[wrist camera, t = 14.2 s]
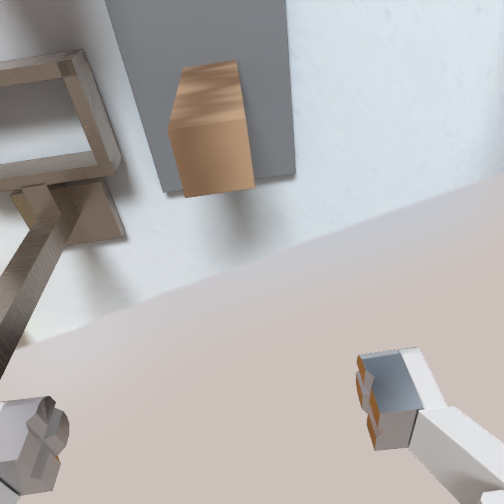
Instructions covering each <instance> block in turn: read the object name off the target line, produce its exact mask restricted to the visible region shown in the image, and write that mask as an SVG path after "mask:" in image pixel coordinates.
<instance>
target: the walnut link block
mask: <svg viewBox="0 0 504 504" xmlns="http://www.w3.org/2000/svg"><path fill="white" fill-rule="evenodd" d="M167 131H168V135H169V139H170V142H171V146H172V150H173V154H174V157H175V161H176V165H177V169H178V172H179V176H180V180H181V184H182V187H183V191H184V195H185V198H189V197H196V196H203V195H209V194H216V193H223V192H230V191H237V190H244V189H251V188H255V183H254V175H253V168H252V161H251V153H250V146H249V138H248V131H247V124H246V117H245V111H244V104H243V98H242V92H241V86H240V80H239V74H238V67H237V61H236V60H232V61H226V62H219V63H213V64H206V65H200V66H193V67H186V68H183V69H182V73H181V77H180V81H179V85H178V89H177V93H176V97H175V101H174V105H173V109H172V113H171V117H170V121H169V125H168V129H167Z"/></svg>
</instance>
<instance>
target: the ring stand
mask: <svg viewBox="0 0 504 504" xmlns="http://www.w3.org/2000/svg"><path fill="white" fill-rule="evenodd" d="M57 78H63V80H64V82H65V85H66V87H67V90H68V92H69V95H70V97H71V100H72V102H73V105H74V107H75V110H76V112H77V115H78V117H79V120H80V122H81V125H82V127H83V130H84V132H85V135H86V137H87V140H88V142H89V144H90V147H91V149H92V151H86V152H80V153H73V154H66V155H59V156H53V157H46V158H39V159H33V160H26V161H19V162H12V163H6V164H0V192H1V191H8V190H14V191H13V192H12V193H11V195H10V197H11V198H12V200H13V202H14V204H15V205H16V207H17V209H18V210H19V212H20V214H21V215H22V217H23V219H24V221H25V222H26V224H27V226H28V227H29V229H30V231H29V232H28V234H27V235H26V237H25V239H24V240H23V242H22V243H21V245H20V247H19V248H18V250H17V251H16V253H15V254H14V256H13V258H12V259H11V261H10V262H9V264H8V266H7V267H6V269H5V270H4V272H3V273H2V275H1V277H0V379H1V377H2V375H3V373H4V371H5V369H6V367H7V365H8V363H9V361H10V358H11V356H12V354H13V352H14V350H15V348H16V346H17V344H18V342H19V340H20V338H21V336H22V334H23V332H24V330H25V328H26V326H27V323H28V321H29V319H30V317H31V315H32V313H33V311H34V309H35V307H36V305H37V303H38V301H39V299H40V297H41V295H42V293H43V290H44V288H45V286H46V284H47V282H48V280H49V278H50V276H51V274H52V272H53V270H54V268H55V266H56V264H57V262H58V260H59V258H60V255H61V253H62V251H63V249H64V247H65V246H66V245H73V244H80V243H86V242H93V241H100V240H107V239H114V238H121V237H123V235H124V231H125V229H124V227H123V224H122V222H121V219H120V217H119V214H118V212H117V209H116V207H115V204H114V202H113V199H112V197H111V194H110V192H109V189H108V187H107V184H106V182H105V179H104V177H103V176H109V175H115V173H116V171H117V169H118V166H119V164H120V162H121V159H122V156H121V154H120V151H119V148H118V145H117V142H116V140H115V137H114V134H113V131H112V128H111V126H110V123H109V120H108V117H107V114H106V111H105V109H104V106H103V103H102V100H101V97H100V95H99V92H98V89H97V86H96V83H95V81H94V78H93V75H92V72H91V69H90V67H89V64H88V61H87V58H86V55H85V53H84V50H83V49H80V50H73V51H67V52H60V53H54V54H47V55H41V56H34V57H28V58H21V59H15V60H9V61H2V62H0V87H5V86H11V85H18V84H24V83H31V82H37V81H44V80H50V79H57Z"/></svg>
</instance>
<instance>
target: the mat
mask: <svg viewBox="0 0 504 504" xmlns="http://www.w3.org/2000/svg"><path fill="white" fill-rule="evenodd" d="M105 3H106V6H107V9H108V13H109V16H110V19H111V23H112V26H113V29H114V32H115V36H116V39H117V42H118V46H119V49H120V52H121V55H122V59H123V62H124V65H125V69H126V72H127V75H128V78H129V82H130V85H131V88H132V92H133V95H134V98H135V101H136V105H137V108H138V111H139V115H140V118H141V121H142V124H143V128H144V131H145V134H146V138H147V141H148V144H149V148H150V151H151V154H152V157H153V161H154V164H155V167H156V171H157V174H158V177H159V180H160V184H161V187H162V190H163V193H165V192H172V191H178V190H183V187H182V184H181V180H180V176H179V172H178V169H177V165H176V161H175V157H174V154H173V150H172V146H171V142H170V139H169V135H168V131H167V129H168V125H169V121H170V117H171V113H172V109H173V105H174V101H175V97H176V93H177V89H178V85H179V81H180V77H181V73H182V69H183V68H186V67H193V66H200V65H206V64H213V63H219V62H226V61H232V60H236V61H237V67H238V74H239V80H240V86H241V92H242V98H243V104H244V111H245V117H246V124H247V131H248V138H249V146H250V153H251V161H252V168H253V175H254V179H261V178H267V177H274V176H281V175H288V174H295V173H296V168H295V151H294V135H293V119H292V102H291V86H290V70H289V53H288V37H287V21H286V4H285V0H105Z"/></svg>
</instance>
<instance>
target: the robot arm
mask: <svg viewBox="0 0 504 504" xmlns="http://www.w3.org/2000/svg"><path fill="white" fill-rule="evenodd" d="M357 365H358V368H359V371H358V372H357V373H356V385H357V392H358V397H359V401H360V404H361V408H362V409H363V410H364V411H365V412H366V413H368V417H367V427H368V431H369V434H370V437H371V440H372V444H373V447H374V450H375V451H376V450H387V449H398V448H408V447H409V450H410V451H411V452H412V453H413V455H414V456H415V457H416V458H417V459H418V460H419V461H420V462H421V463H422V464H423V465H424V466H425V467H426V468H427V469H428V470H429V471H430V472H431V473H432V474H433V475H434V476H435V477H436V479H437V480H438V481H439V482H440V483H441V484H442V485H443V486H444V487H445V488H446V489H447V490H448V491H449V492H450V493H451V494H452V495H453V496H454V497H455V498H456V499H457V500H458V502H460V504H504V444H503V443H502V442H501V441H500V440H498V439H497V438H496V437H494V436H493V435H492V434H491V433H489V432H488V431H487V430H485V429H484V428H482V427H481V426H480V425H479V424H477V423H476V422H475V421H474V420H472V419H471V418H470V417H468V416H467V415H466V414H464V413H463V412H462V411H460V410H459V409H458V408H457V407H455V406H448V405H447V403H446V401H445V399H444V397H443V395H442V393H441V391H440V389H439V387H438V385H437V383H436V381H435V379H434V377H433V375H432V373H431V371H430V369H429V366H428V364H427V362H426V360H425V358H424V357H423V354H422V353H421V351H420V350H419V349H418V348H416V347H413V348H406V349H400V350H388V351H382V352H375V353H369V354H362V355H358V357H357ZM55 403H56V402H55V401H54V400H53V399H52V398H51V397H50V396H45V397H37V398H29V399H21V400H12V401H11V400H10V401H3V402H0V504H16V503H17V502H18V501H19V499H20V496H21V495H28V494H34V493H41V492H47V491H53V488H54V484H55V481H56V478H57V474H58V471H59V468H60V464H61V463H60V461H59V458H58V455H59V453H60V452H61V451H62V450H63V449H64V448H65V446H66V444H67V441H68V437H69V421H68V418H67V416H66V414H65V413H64V412H63V411H61V410H59V409H56V408H54V406H55Z"/></svg>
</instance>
